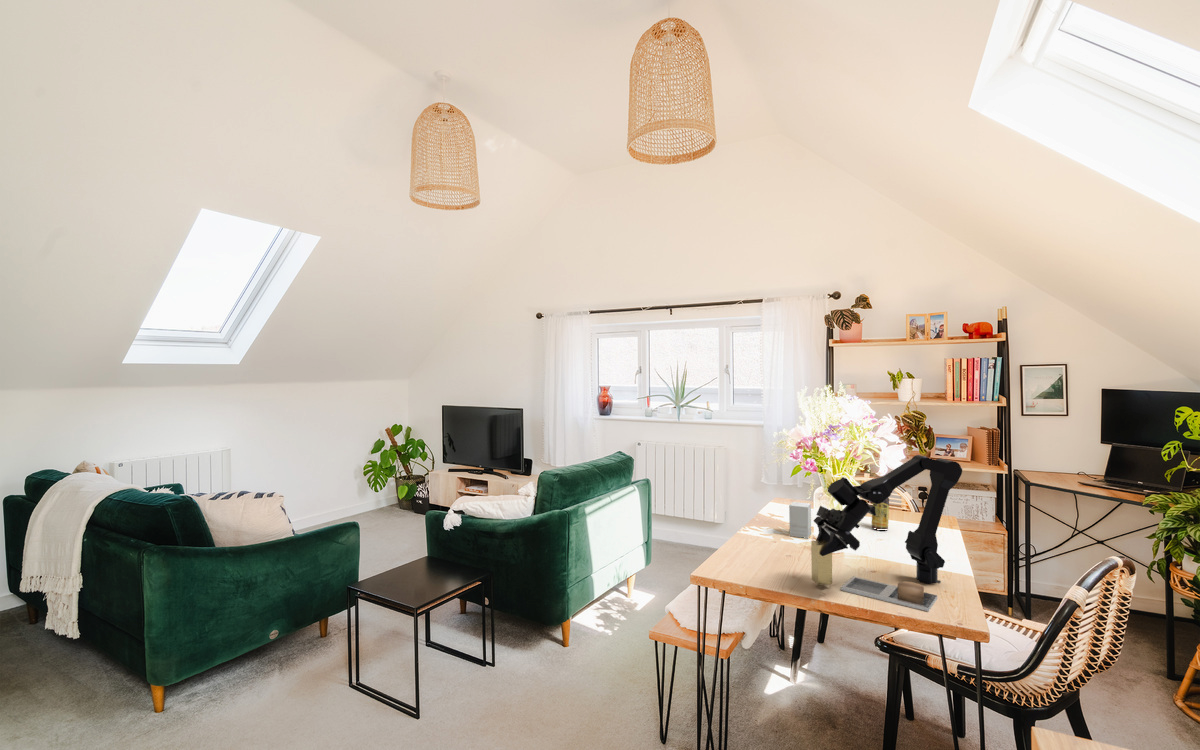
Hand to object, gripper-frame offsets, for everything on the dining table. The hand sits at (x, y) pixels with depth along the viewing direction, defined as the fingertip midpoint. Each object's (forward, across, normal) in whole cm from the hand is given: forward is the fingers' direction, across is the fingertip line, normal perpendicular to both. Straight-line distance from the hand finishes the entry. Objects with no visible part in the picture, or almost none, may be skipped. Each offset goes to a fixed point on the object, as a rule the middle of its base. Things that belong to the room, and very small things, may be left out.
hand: (817, 552), depth 174 cm
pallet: (-4, +10, +19) cm, 22 cm away
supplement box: (-5, -53, +21) cm, 58 cm away
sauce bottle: (-31, -58, +47) cm, 82 cm away
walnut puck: (-8, +14, +22) cm, 27 cm away
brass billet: (+6, 0, +7) cm, 9 cm away
